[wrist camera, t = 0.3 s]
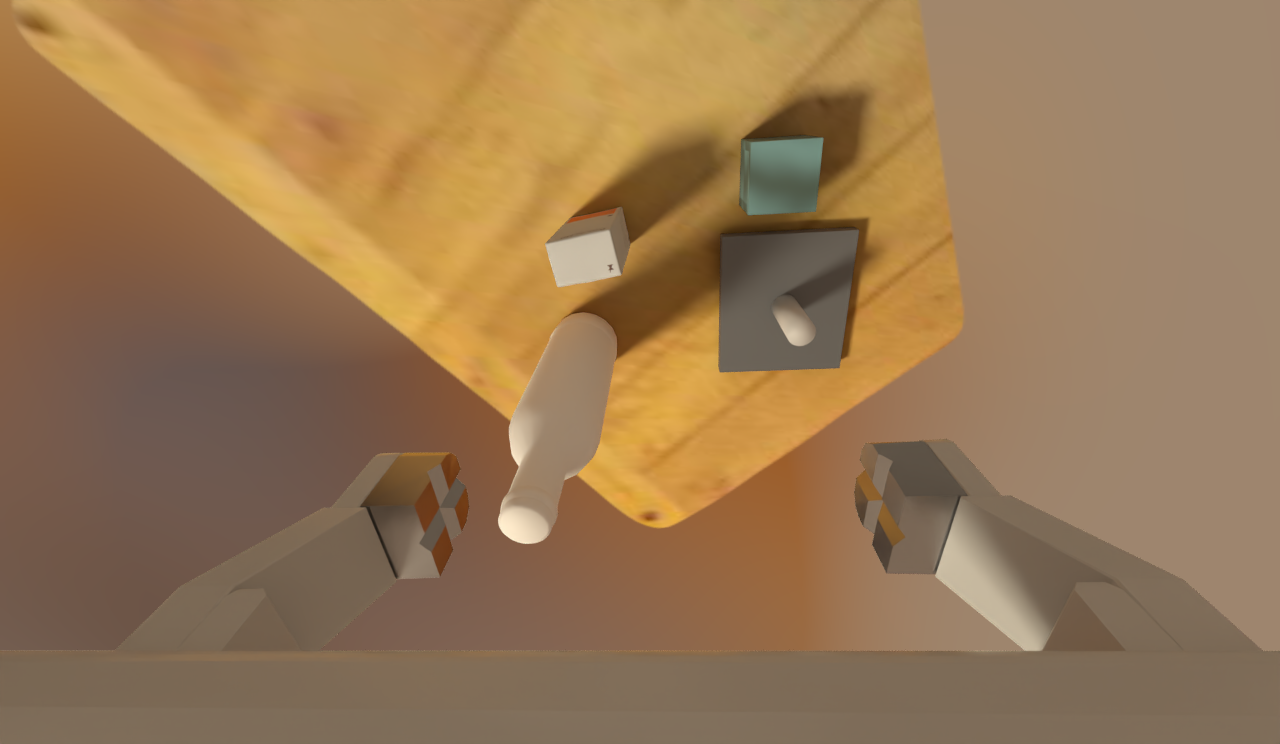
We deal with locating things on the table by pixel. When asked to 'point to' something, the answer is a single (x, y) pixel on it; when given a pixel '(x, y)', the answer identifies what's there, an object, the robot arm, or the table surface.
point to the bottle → (558, 423)
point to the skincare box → (589, 248)
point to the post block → (784, 298)
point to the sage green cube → (780, 174)
